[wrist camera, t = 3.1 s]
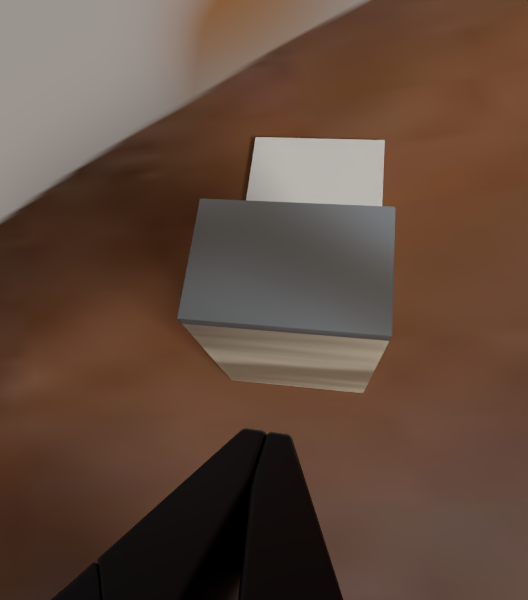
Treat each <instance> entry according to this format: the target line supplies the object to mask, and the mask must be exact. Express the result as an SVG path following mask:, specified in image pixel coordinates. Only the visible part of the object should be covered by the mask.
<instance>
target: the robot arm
mask: <svg viewBox="0 0 528 600" xmlns="http://www.w3.org/2000/svg"><path fill="white" fill-rule="evenodd" d="M51 600H343V597H342V594H341V591H340V588H339V585H338V581H337V578H336V575H335V572H334V569H333V566H332V563H331V559H330V556H329V553H328V550H327V547H326V544H325V541H324V537H323V534H322V531H321V528H320V525H319V522H318V519H317V515H316V512H315V509H314V506H313V503H312V500H311V497H310V493H309V490H308V487H307V484H306V481H305V478H304V475H303V471H302V468H301V465H300V462H299V459H298V456H297V453H296V449H295V446H294V443H293V440H292V438H291V436H290V435H288V434H282V433H275V432H269V433H268V434H267V435H266V432H264V431H261V430H254V429H247V428H246V429H242V430H241V431H240V432H239V433H238V434H236V435H235V436H234V437H233V438H232V439H231V440H230V441H229V442H228V443H226V444H225V445H224V446H223V447H222V448H221V449H220V450H219V451H218V452H216V453H215V454H214V455H213V456H212V457H211V458H210V459H209V460H207V461H206V462H205V463H204V464H203V465H202V466H201V467H200V468H199V469H197V470H196V471H195V472H194V473H193V474H192V475H191V476H190V477H189V478H187V479H186V480H185V481H184V482H183V483H182V484H181V485H180V486H179V487H177V488H176V489H175V490H174V491H173V492H172V493H171V494H170V495H168V496H167V497H166V498H165V499H164V500H163V501H162V502H161V503H160V504H158V505H157V506H156V507H155V508H154V509H153V510H152V511H151V512H150V513H148V514H147V515H146V516H145V517H144V518H143V519H142V520H141V521H140V522H138V523H137V524H136V525H135V526H134V527H133V528H132V529H131V530H129V531H128V532H127V533H126V534H125V535H124V536H123V537H122V538H121V539H119V540H118V541H117V542H116V543H115V544H114V545H113V546H112V547H111V548H109V549H108V550H107V551H106V552H105V553H104V554H103V555H102V556H101V557H99V558H98V564H97V563H92V564H91V565H90V566H89V567H88V568H87V569H86V570H85V571H83V572H82V573H81V574H80V575H79V576H78V577H77V578H76V579H75V580H73V581H72V582H71V583H70V584H69V585H68V586H66V587H65V588H64V589H63V590H62V591H61V592H59V593H58V594H57V595H56V596H55V597H54V598H52V599H51Z"/></svg>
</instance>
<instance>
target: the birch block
mask: <svg viewBox="0 0 528 600" xmlns="http://www.w3.org/2000/svg"><path fill="white" fill-rule="evenodd" d="M394 238H395V207H386V206H363V205H340V204H317V203H294V202H270V201H247V200H224V199H201V198H200V201H199V206H198V212H197V217H196V222H195V227H194V233H193V238H192V243H191V248H190V254H189V259H188V264H187V269H186V275H185V280H184V285H183V290H182V296H181V301H180V306H179V311H178V317H177V319H178V320H179V321H180V322H181V323H182V324H183V326H184V327H185V328H186V329H187V330H188V331H189V332H190V334H191V335H192V336H193V337H194V338H195V339H196V340H197V342H198V343H199V344H200V345H201V346H202V347H203V348H204V349H205V351H206V352H207V353H208V354H209V355H210V356H211V357H212V359H213V360H214V361H215V362H216V363H217V364H218V365H219V367H220V368H221V369H222V370H223V371H224V372H225V373H226V374H227V376H228V377H229V378H230V379H231V380H237V381H247V382H257V383H267V384H277V385H287V386H297V387H307V388H318V389H328V390H338V391H348V392H358V393H363V392H364V390H365V388H366V386H367V384H368V382H369V380H370V378H371V376H372V374H373V372H374V370H375V368H376V366H377V364H378V362H379V360H380V358H381V356H382V354H383V352H384V350H385V349H386V347H387V345H388V343H389V341H390V339H391V337H392V312H393V275H394Z"/></svg>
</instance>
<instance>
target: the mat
mask: <svg viewBox="0 0 528 600" xmlns="http://www.w3.org/2000/svg"><path fill="white" fill-rule="evenodd" d="M384 143H385V140H355V139H313V138H272V137H256V138H255V144H254V151H253V158H252V164H251V171H250V177H249V184H248V190H247V197H246V200H247V201H270V202H294V203H317V204H340V205H363V206H382V197H383V170H384Z"/></svg>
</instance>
